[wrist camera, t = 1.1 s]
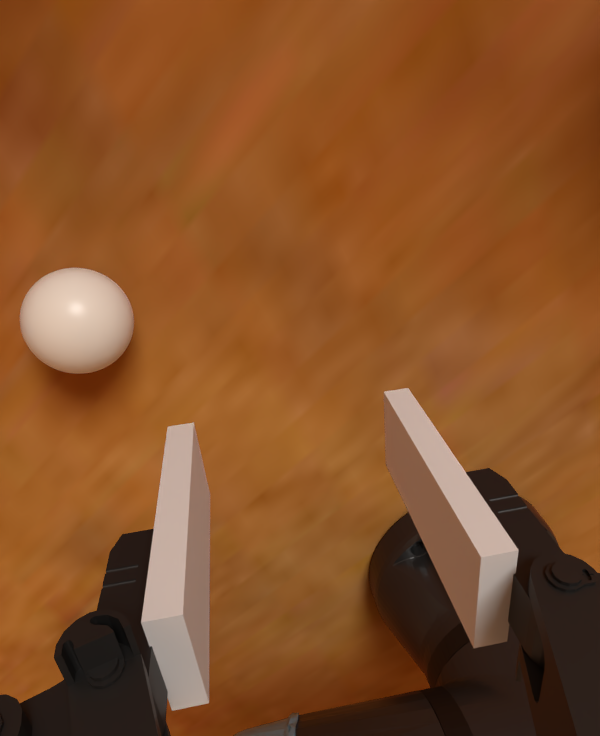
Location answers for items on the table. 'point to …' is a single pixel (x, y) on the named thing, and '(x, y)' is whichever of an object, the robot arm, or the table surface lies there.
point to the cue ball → (76, 320)
